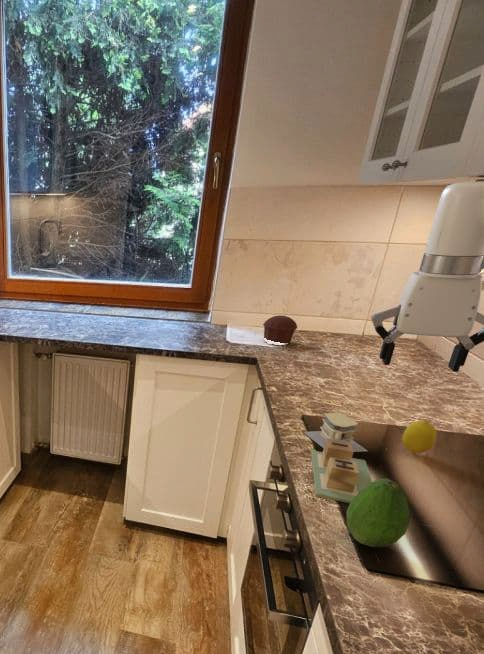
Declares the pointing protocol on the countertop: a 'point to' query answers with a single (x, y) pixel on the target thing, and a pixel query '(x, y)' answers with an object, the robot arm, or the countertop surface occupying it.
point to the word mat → (336, 494)
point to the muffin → (279, 329)
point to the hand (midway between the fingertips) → (418, 366)
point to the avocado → (378, 514)
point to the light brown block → (341, 474)
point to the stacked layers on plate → (336, 430)
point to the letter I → (336, 450)
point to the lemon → (419, 437)
